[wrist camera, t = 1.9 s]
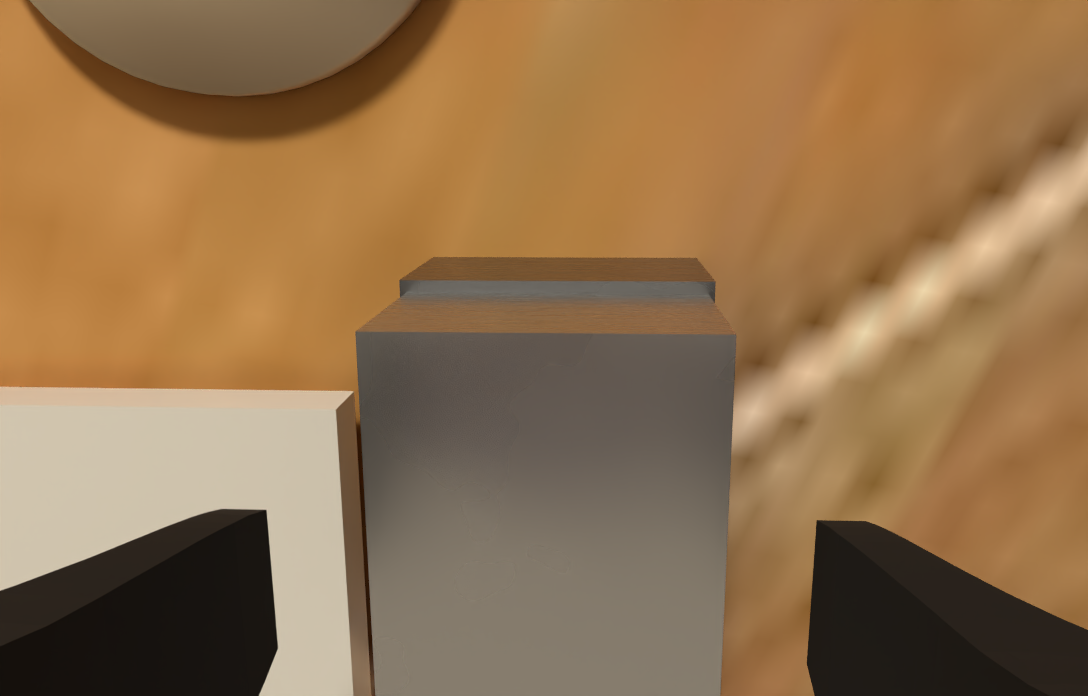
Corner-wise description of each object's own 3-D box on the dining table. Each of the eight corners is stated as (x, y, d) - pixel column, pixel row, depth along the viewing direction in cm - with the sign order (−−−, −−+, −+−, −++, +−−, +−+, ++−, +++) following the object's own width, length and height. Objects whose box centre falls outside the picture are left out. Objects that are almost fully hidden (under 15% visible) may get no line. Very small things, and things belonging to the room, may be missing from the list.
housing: (684, 595, 18) (723, 805, 13) (445, 588, 19) (374, 790, 13) (695, 257, 17) (745, 318, 11) (433, 256, 17) (346, 316, 11)
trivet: (389, 888, 20) (369, 958, 19) (-108, 863, 21) (-173, 929, 19) (362, 383, 18) (336, 409, 16) (-208, 375, 18) (-293, 400, 17)
